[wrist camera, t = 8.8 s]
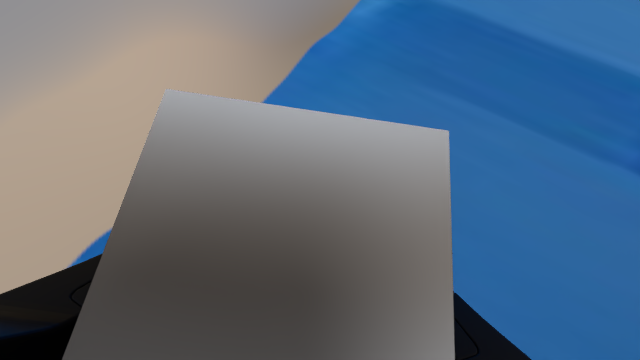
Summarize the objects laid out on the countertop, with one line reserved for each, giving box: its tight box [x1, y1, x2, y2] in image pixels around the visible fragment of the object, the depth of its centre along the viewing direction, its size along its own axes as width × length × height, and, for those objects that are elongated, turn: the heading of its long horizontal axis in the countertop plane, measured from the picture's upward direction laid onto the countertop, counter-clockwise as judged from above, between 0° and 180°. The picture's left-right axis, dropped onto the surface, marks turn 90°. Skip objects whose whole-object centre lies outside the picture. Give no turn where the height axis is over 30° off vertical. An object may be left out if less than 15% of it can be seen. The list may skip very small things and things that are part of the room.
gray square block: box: [62, 89, 455, 360], centre depth 9 cm, size 5×5×12 cm
